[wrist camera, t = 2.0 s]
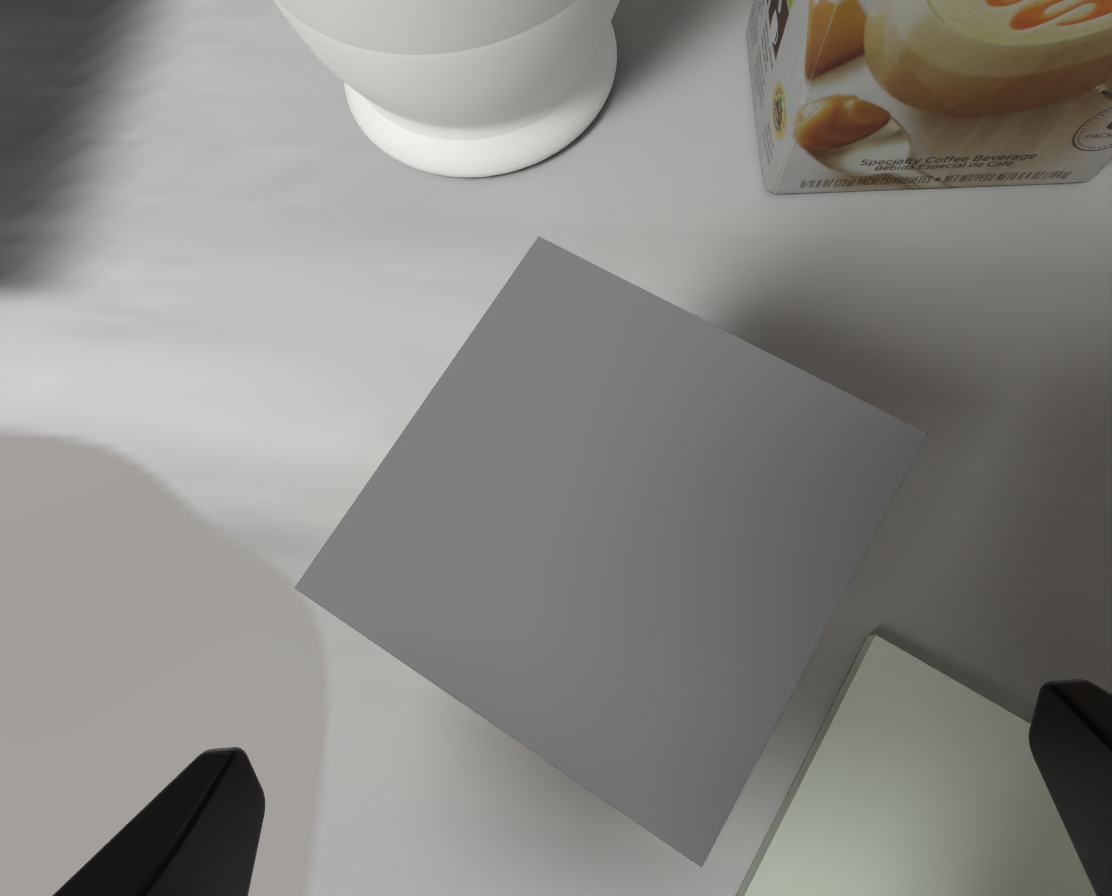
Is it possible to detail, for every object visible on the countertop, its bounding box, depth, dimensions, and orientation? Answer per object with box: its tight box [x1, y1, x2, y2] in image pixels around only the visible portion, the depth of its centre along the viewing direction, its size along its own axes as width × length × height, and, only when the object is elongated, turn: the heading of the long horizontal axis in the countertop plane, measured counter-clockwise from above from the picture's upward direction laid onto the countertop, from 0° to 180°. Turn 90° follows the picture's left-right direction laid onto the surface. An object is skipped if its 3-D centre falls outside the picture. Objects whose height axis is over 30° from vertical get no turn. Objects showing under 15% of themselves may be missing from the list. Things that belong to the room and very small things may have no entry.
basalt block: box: [295, 237, 927, 867], centre depth 12 cm, size 5×5×7 cm
